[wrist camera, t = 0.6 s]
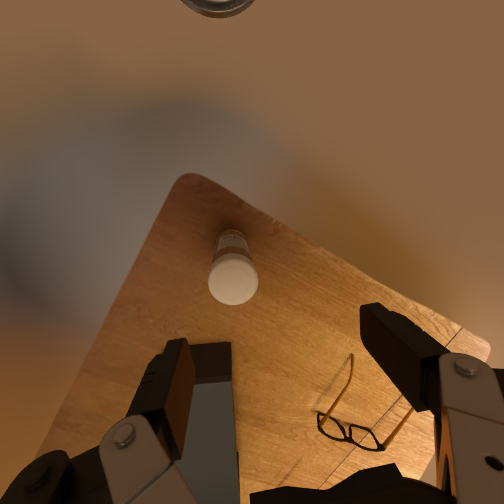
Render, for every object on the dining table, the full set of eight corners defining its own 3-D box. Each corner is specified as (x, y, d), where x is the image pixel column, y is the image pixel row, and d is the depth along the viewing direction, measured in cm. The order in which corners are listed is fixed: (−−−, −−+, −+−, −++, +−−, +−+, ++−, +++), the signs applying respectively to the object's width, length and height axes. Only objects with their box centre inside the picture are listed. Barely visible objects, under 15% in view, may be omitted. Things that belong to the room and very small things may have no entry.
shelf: (166, 347, 38) (143, 410, 28) (230, 341, 39) (231, 401, 29) (185, 464, 46) (172, 548, 36) (238, 457, 47) (241, 538, 36)
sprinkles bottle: (210, 252, 35) (199, 297, 22) (222, 222, 34) (218, 251, 21) (240, 264, 36) (246, 313, 23) (253, 235, 35) (267, 270, 22)
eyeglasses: (308, 413, 45) (316, 435, 41) (351, 352, 42) (363, 370, 38) (370, 434, 48) (382, 456, 44) (414, 378, 45) (431, 397, 41)
